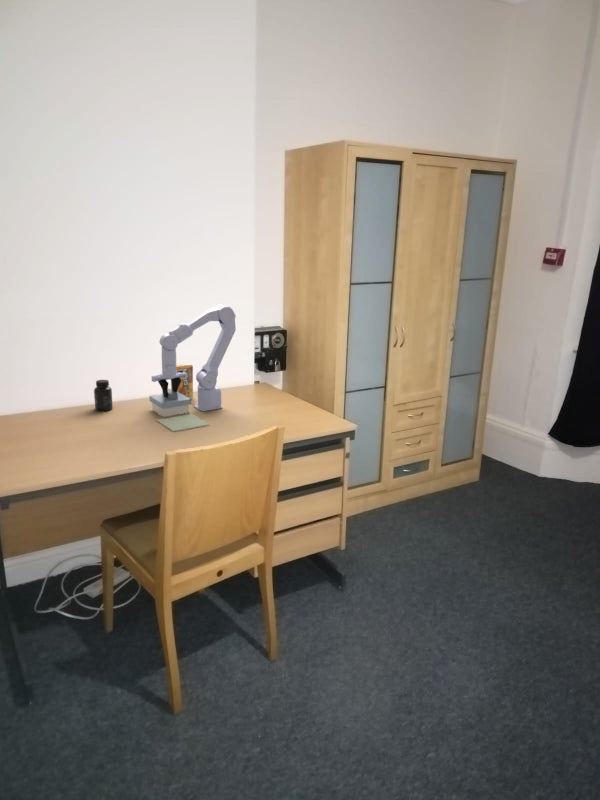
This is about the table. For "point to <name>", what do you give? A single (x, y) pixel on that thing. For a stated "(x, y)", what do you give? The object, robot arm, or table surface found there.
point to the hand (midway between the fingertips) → (170, 396)
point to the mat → (182, 422)
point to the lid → (170, 400)
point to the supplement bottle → (103, 396)
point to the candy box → (185, 380)
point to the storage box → (170, 410)
